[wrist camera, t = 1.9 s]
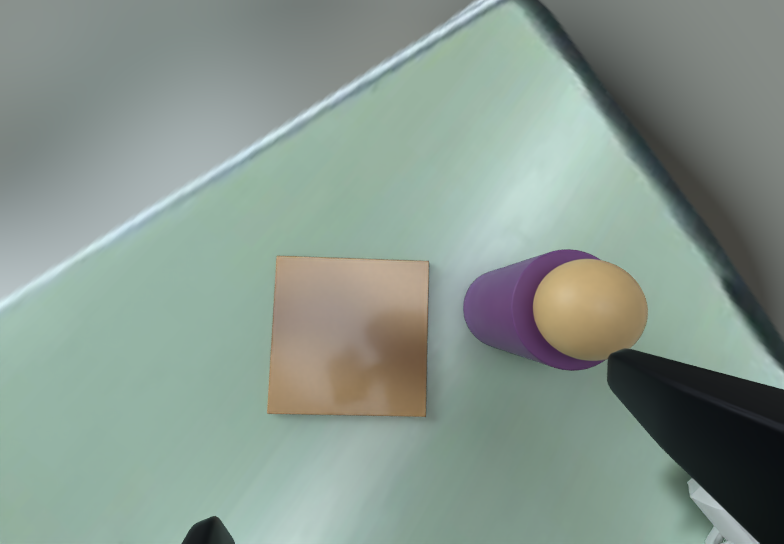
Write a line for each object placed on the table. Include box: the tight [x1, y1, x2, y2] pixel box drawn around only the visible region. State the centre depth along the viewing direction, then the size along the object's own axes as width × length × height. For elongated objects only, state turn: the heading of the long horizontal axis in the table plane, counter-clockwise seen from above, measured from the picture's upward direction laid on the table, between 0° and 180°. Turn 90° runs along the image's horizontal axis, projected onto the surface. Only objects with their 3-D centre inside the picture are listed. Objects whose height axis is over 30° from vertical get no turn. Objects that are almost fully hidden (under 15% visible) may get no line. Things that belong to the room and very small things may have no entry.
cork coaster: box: [267, 256, 429, 417], centre depth 24 cm, size 10×10×1 cm
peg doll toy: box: [463, 250, 648, 371], centre depth 19 cm, size 5×5×12 cm
